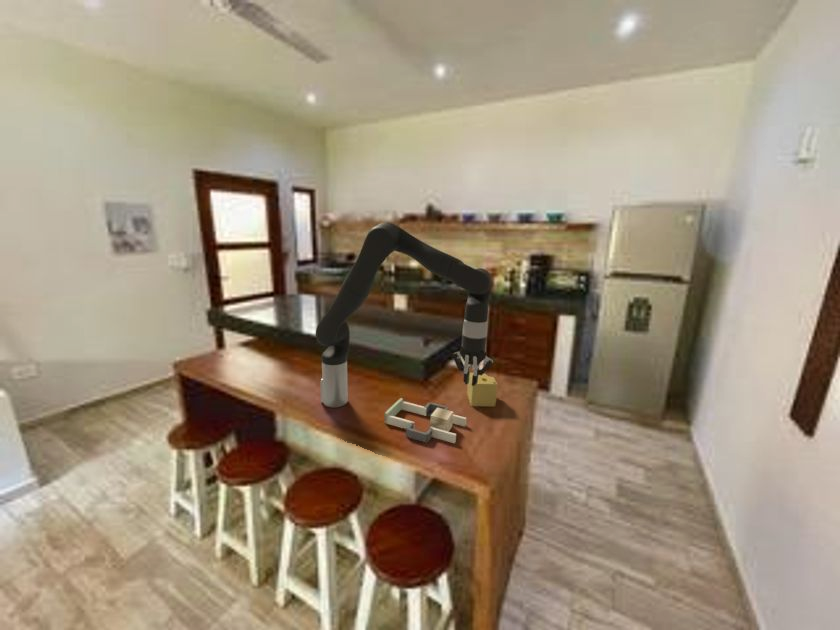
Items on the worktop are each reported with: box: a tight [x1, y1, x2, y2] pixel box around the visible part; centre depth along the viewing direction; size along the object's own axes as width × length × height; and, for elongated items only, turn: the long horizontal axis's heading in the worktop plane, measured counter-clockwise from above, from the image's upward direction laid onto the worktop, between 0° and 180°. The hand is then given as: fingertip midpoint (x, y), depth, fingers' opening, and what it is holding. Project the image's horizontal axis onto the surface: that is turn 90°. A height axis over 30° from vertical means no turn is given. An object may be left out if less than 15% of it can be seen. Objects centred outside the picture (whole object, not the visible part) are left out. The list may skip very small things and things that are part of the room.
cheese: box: [466, 372, 499, 408], centre depth 146 cm, size 10×11×10 cm
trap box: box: [384, 397, 467, 444], centre depth 129 cm, size 26×20×4 cm
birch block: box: [429, 408, 454, 432], centre depth 126 cm, size 6×6×6 cm
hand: (470, 384), depth 118 cm, fingers closed
